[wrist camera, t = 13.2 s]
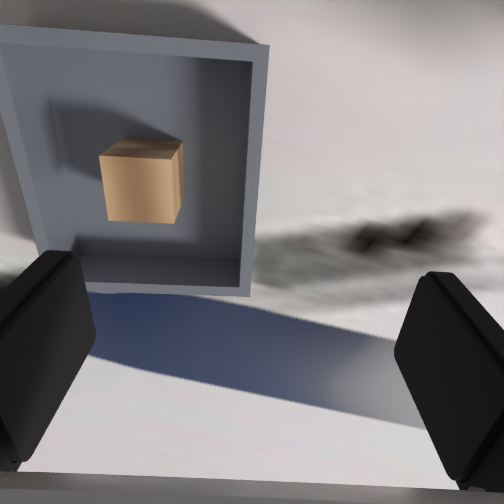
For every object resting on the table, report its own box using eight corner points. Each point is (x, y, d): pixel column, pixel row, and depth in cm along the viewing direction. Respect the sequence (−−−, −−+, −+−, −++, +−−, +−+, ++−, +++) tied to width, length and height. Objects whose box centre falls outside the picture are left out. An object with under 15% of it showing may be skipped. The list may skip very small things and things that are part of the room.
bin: (263, 46, 28) (269, 44, 22) (248, 262, 37) (249, 296, 32) (27, 28, 27) (-24, 21, 21) (75, 255, 36) (48, 289, 31)
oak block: (182, 141, 30) (170, 159, 25) (184, 196, 32) (173, 223, 27) (123, 137, 30) (98, 155, 24) (129, 193, 32) (108, 220, 27)
